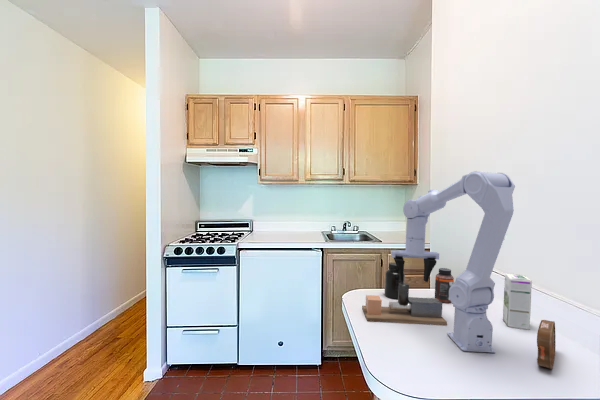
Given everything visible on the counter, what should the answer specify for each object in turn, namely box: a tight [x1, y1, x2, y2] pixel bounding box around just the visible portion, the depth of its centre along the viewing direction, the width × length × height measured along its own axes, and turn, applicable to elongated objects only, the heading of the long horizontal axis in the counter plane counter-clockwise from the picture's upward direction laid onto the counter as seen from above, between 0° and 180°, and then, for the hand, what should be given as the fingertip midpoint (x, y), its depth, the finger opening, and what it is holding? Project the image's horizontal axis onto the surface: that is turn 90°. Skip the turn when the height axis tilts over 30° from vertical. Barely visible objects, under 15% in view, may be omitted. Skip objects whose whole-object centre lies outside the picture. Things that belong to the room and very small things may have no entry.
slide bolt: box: [388, 282, 411, 311], centre depth 100 cm, size 3×13×8 cm, turn 88°
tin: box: [536, 319, 556, 370], centre depth 77 cm, size 15×3×8 cm, turn 139°
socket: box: [364, 294, 383, 315], centre depth 100 cm, size 4×4×4 cm
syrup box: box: [502, 273, 533, 331], centre depth 97 cm, size 6×6×14 cm
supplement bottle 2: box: [434, 267, 455, 304], centre depth 116 cm, size 6×6×11 cm
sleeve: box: [408, 296, 443, 318], centre depth 100 cm, size 4×9×4 cm, turn 87°
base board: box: [362, 305, 448, 326], centre depth 100 cm, size 10×23×1 cm, turn 87°
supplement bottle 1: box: [384, 262, 406, 300], centre depth 119 cm, size 7×7×12 cm
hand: (413, 280), depth 104 cm, fingers open, 7 cm apart
